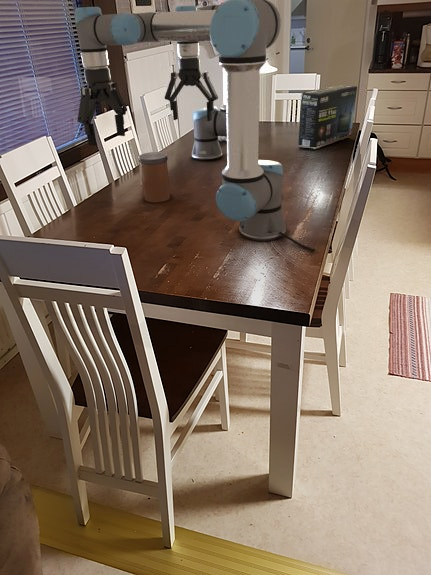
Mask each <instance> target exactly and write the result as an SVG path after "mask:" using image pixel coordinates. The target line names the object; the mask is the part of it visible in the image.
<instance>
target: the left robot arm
mask: <svg viewBox="0 0 431 575" xmlns="http://www.w3.org/2000/svg"><path fill="white" fill-rule="evenodd" d="M220 5H221V4H210V5H205V6H202V7H197V6H196V5H178V6H176V7H175V10H174V12H179V11H201V10H217V8H218V7H219V6H220ZM176 45H177V46H176V47H177V49H176V50H177V57H179V58H178V59H177V63H178V72H176V71H172V72H171V73H170V80H169V83H168V86H167V89H166V92H165V95H164V100H167V101H168V102H169V109H170V111H172V119H173V120H172V121H176V120H178V119H179V114H178V101H177V100H176V98H177V97H178V95H179V94H180V92H181V90H182V89H183V87H184V86H185V87H188V86H190V87H194V86H195V87H196V88H198V90H199V91H200V92H201V93H202V95H203V96H204V97H205V99H206V100H207V101H206V106H205V107H200V108H197V109H195V110H194V112H193V113H192V114H193V115H192V116H193V117H192V122H193V136H194V137H193V138H194V142H193V147H192V151H191V158H192V159H193V160H195V161H199V162H210V161H212V162H213V161H216V160H220V159H222V157H223V151H222V147H221V143H220V142H219V139H218V136H225V137H227V120H226V75H225V70H224V68H223V67H222V104H221V105H220V107H219V109H220V110H219V109H218V107H217V106H214V105H215V104H214V101H217V100H218V99H219V95H218V93H217V92H216V89H215V87H214V85H213V83H212V81H211V79H210V73H209V71H204V72H201V64H200V63H201V62H200V58H199V56H200V45H199V42H176ZM201 78H202V79H203V81H204V83H205V85H206V87H205V85H204V84H203V83H202V81H201V80H200V79H201ZM177 79H179V80H180V81H179V83H178V85H177V87H176V88H175V89H174V87H175V85H176V83H177V82H176V81H177ZM173 89H174V91H173ZM207 89H208V90H207Z"/></svg>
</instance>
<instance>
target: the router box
mask: <svg viewBox="0 0 431 575" xmlns="http://www.w3.org/2000/svg"><path fill="white" fill-rule="evenodd" d="M357 93H358V86H356V85H350V84H339V85H338V84H337V85H334V86H328V87H324V88H318V89H314V90H309V91H304V92H301V93H300V109H299V110H300V111H299V124H298V137H297V146H298V145H302V146H307V147H317V146H320V145H323V144H325V143H328V142H331V141H333V140H336V139H338V138H341V137H344V136H347V135H351V136H352V133H353V132H352V131H353V125H354V115H355V109H356V99H357ZM311 151H313V150H312V149H311Z"/></svg>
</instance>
